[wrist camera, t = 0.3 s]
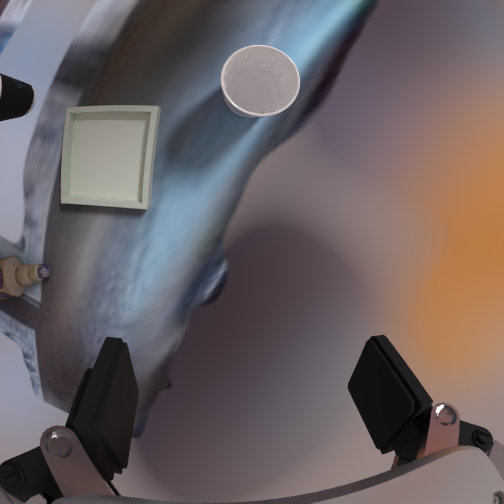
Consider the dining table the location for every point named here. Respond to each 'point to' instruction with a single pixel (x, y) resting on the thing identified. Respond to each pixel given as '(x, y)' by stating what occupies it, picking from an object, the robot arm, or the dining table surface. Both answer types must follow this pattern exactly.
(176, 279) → the dining table surface
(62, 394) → the dining table surface
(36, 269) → the decorative bottle
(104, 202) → the tray
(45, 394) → the dining table surface
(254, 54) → the white cup
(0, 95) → the dixie cup
